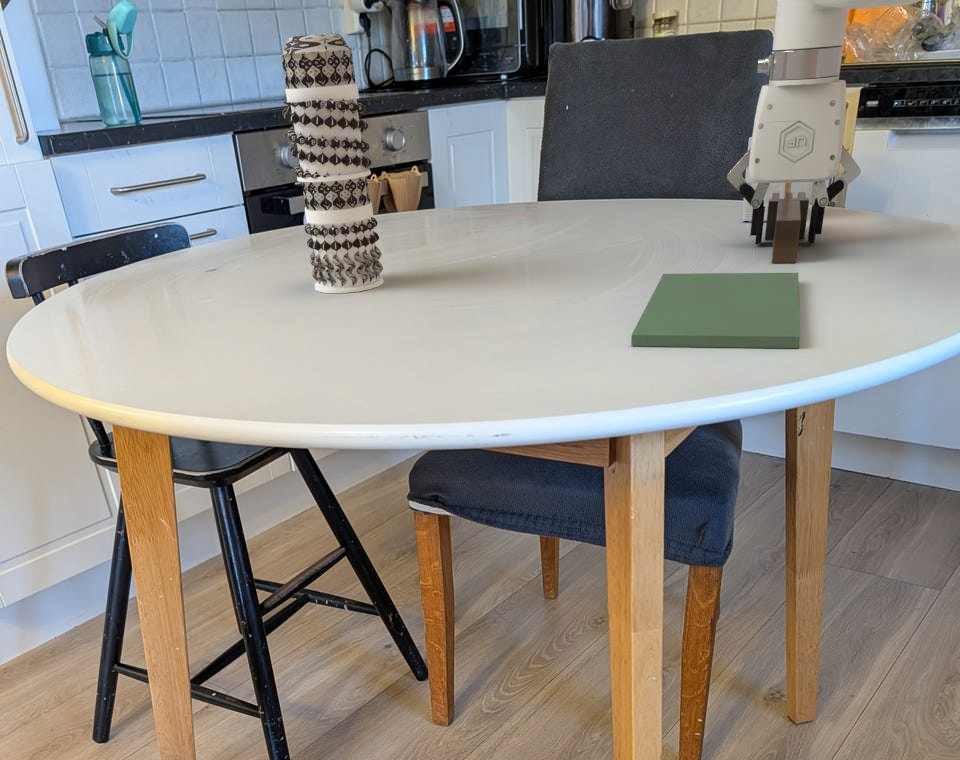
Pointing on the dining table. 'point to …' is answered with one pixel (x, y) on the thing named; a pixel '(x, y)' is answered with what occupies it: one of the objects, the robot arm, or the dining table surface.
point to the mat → (722, 311)
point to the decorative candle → (331, 162)
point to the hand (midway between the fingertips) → (784, 239)
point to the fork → (786, 225)
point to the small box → (772, 188)
